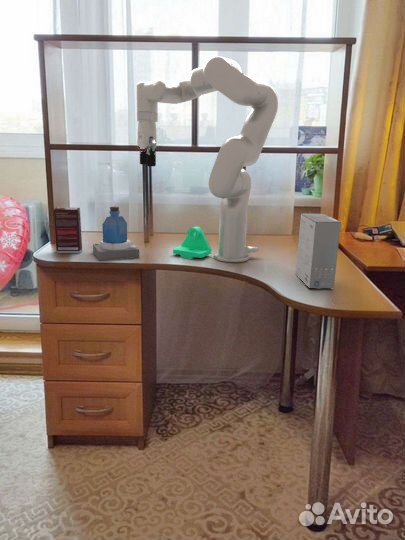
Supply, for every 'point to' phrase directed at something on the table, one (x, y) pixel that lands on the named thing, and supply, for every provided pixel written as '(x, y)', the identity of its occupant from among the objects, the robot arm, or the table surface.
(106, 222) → the perfume bottle
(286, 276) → the table surface
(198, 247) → the camera mount
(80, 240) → the supplement box
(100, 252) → the camera body block
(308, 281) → the hard drive box
